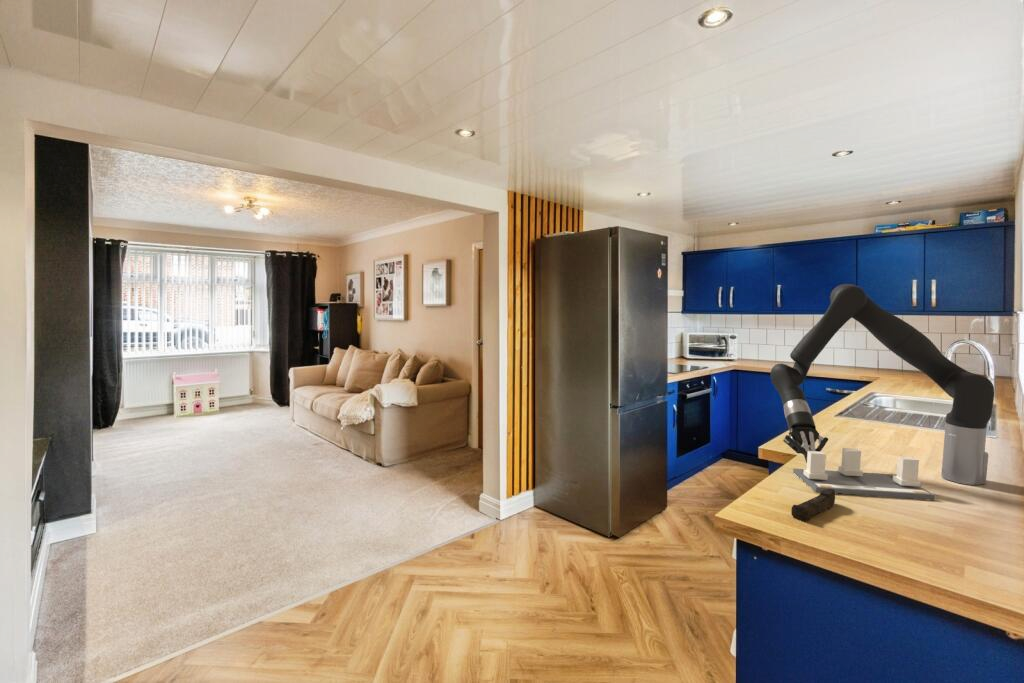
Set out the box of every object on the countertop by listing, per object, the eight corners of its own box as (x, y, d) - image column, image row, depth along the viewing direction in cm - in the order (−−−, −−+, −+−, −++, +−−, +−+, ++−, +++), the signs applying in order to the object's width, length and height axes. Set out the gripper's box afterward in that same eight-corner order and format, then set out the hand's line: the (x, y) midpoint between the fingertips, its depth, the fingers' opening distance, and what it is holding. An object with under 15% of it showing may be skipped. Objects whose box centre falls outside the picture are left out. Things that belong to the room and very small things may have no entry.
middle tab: (855, 471, 150) (857, 448, 149) (862, 476, 146) (864, 452, 145) (838, 470, 151) (839, 447, 150) (844, 475, 147) (846, 451, 146)
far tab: (821, 475, 147) (822, 451, 146) (827, 479, 143) (828, 455, 142) (803, 474, 148) (804, 450, 147) (809, 478, 144) (810, 454, 143)
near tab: (911, 481, 142) (913, 456, 141) (920, 486, 138) (922, 461, 137) (892, 480, 143) (894, 455, 142) (901, 485, 139) (903, 460, 138)
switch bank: (898, 479, 149) (898, 474, 149) (934, 500, 133) (934, 494, 133) (793, 473, 154) (793, 467, 154) (815, 492, 138) (816, 486, 138)
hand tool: (806, 524, 119) (807, 505, 118) (790, 517, 122) (791, 500, 122) (845, 507, 128) (846, 491, 128) (828, 502, 132) (830, 486, 131)
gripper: (780, 409, 156) (793, 458, 145) (825, 411, 154) (841, 461, 143) (773, 421, 162) (785, 469, 151) (816, 423, 159) (832, 472, 148)
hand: (813, 465), depth 147 cm, fingers closed
